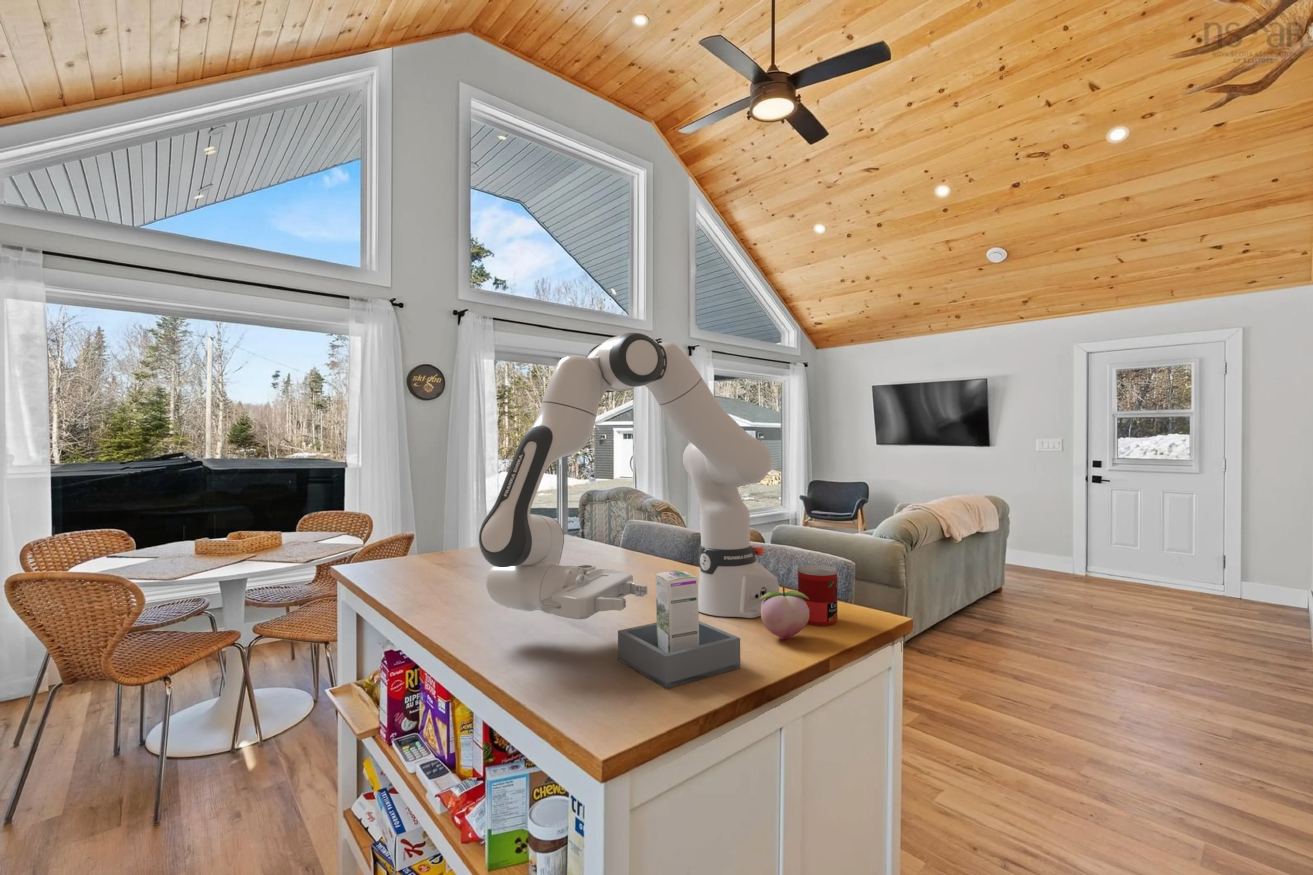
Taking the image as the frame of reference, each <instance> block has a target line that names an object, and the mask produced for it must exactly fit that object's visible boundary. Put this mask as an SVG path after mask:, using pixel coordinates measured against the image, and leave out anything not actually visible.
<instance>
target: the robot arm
mask: <svg viewBox="0 0 1313 875" xmlns="http://www.w3.org/2000/svg"><path fill="white" fill-rule="evenodd" d="M642 386H644V387H646V388H647V389H648V390H649V392H651V395H653V397H654V399H655V401H656V402H657V404H658V406H660V409H661V410H662V412H664V414H665V415H666V418H667V419H668V420H669V422H670V423H671V425H672V427H673V429H675V431H676V433H678V434H679V435H680V436H681V437H683V438H685V439H686V440H687V441H688V442H689V443H688V445H686V447H685V448H684V451H683V455H682V463H683V467H684V469H685V471H686V473H687V474H688V475H689V477H690V478H691V482H692V484H693V488H694V490H695V494H696V498H697V502H698V508H699V515H700V521H699V522H700V545H699V548H698V562H699V569H700V571H699V572H700V573H699V579H698V610H699V612H700V613H702V614H705V615H710V616H716V617H727V618H729V617H731V618H732V617H733V618H735V617H737V618H744V619H745V618H746V619H755V618H757V617H761V604H762V602H763V600H764V599H763V600H760V598H761V597H762V596H763V595H765V594H766V593H769V592H780V586H779V585H780V584H779V582H778V579H777V577H776V576H775V575H774V574H773V573H772V572H770V571H769V570H767V568H765V567H764V566H763V565H762V564H761V563H759V562H758V561H757V557H756V556H759V557H762V556H764V555H765V548H764V547H763V546H758V545H756V546H753V545H751V524H750V522H751V521H750V520H751V518H750V517H751V516H750V511H749V509H748V506H747V505H746V504H745V503H744V501H743V499H742V498H741V497H742V496H740V492H739V489H738V487H745V486H750V485H753V484H757V483H760V482H762V481H763V480H764V479H765V478H766V477H767V475H768V473H769V472H770V469H771V463H772V457H771V454H770V453H771V452H770V450H769V448H768V446H767V445H766V444H765V443H764V442H763V441H761V440H759V439H758V438H756V437H755V436H752V435H751V434H749V432H747V431H746V430H745V429H744V428H743V427H742V426H741V425H739V423H738V422H737V421H736V420H735V419H734V418H732V416H731V415H730V414H729V413H728V412H727V411H726V410H725V409H724V408H723V407H722V406H721V405H720V403H719V402H718V400H717V399H716V397H715V396H714V394H713V393H712V390H711V389H710V388H709V387H708V385H707V383H706V381H705V380H704V378H703V377H702V375H701V374H700V372H699V371H698V369H697V367H696V366H695V365H694V364H693V362H692V361H691V359H690V358H689V357H688V356H687V355H686V354H685V352H683V350H682V349H681V348H680V347H679V346H678V345H677V344H675V343H673V342H670V341H663V342H659V343H658V342H657V341H655V340H654V339H653V338H651V337H650V336H648V335H646V334H645V333H642V332H641V333H640V332H627V333H624V334H621V335H616V336H612V337H610V338H609V339H607V340H605V341H604V342H602V343H600V344H598V345H596V346H594V347H593V348H591V350H589V352H587V354H585V356H584V355H579V354H571V355H567V356H564V357H562V358H560V359H559V361H558V362H557V363H556V365H555V367H554V369H553V371H552V374H551V375H550V378H549V381H548V382H547V385H546V388H545V390H544V394H543V397H542V401H541V404H540V408H539V409H538V413H537V415H536V418H535V420H534V422H533V424H532V425H531V427H530V429H529V430H527V431H526V433H525V434H524V435H523V437H522V439H521V440H520V442H519V444H518V447H517V448H516V451H515V454H514V456H513V458H512V461H511V463H510V466H509V468H508V471H507V473H506V476H505V479H504V481H503V484H502V485H501V489H500V492H499V494H498V497H497V498H496V501H495V502H494V505H493V506H492V507H491V510H490V511H489V512H488V514H487V515H486V517H485V518H484V520H483V521H482V524H481V526H480V529H479V533H478V546H479V549H480V552H481V553H482V554H481V555H482V556H483V557H484V559H485V560H486V562H488V564H490V565H492V566H491V567H490V569H489V570H488V573H487V576H486V580H485V581H486V590H487V593H488V595H489V597H490V599H491V600H492V601H493V602H494V603H496V604H498V605H499V606H502V607H504V608H508V609H512V610H518V611H524V612H534V611H540V612H543V613H544V614H550V615H554V616H558V617H562V618H567V619H571V620H572V619H573V620H586V619H588V618H590V617H591V616H592V617H593V615H595V614H597V613H598V612H606V611H619V612H620V611H622V610H624V609H625V608H626V607H627V604H626V602H627V600H626V598H624V597H626V596H628V595H634V596H635V597H642V598H643V597H645V596H646V595H648V586H647V585H645V584H638V583H637V582H634V577H633V576H634V575H632V574H631V573H629V572H626V571H619V570H613V569H608V568H607V569H606V568H596V565H594V564H584V565H560V563H561V558H562V554H563V549H564V546H565V545H564V544H565V535H564V530H563V528H562V526H561V524H560V523H559V522H558V521H557V520H556V519H554V518H553V517H551V516H548V515H546V516H545V515H542V514H535V513H531V509H532V506H533V504H534V501H535V498H536V496H537V492H538V490H539V487H540V484H541V483H542V479H543V477H544V475H545V473H546V471H547V470H548V468H549V467H551V465H552V464H553V463H555V462H556V461H558V460H559V459H561V458H565V457H568V456H572V455H575V454H577V453H578V452H579V451H581V450H582V449H583V448H585V447H586V446H587V444H588V442H589V440H590V438H591V436H592V434H593V431H594V427H595V423H596V419H597V415H598V412H599V411H598V410H599V405H600V402H601V400H602V398H603V396H604V394H606V393H614V392H624V391H629V390H632V389H633V388H636V387H642ZM759 600H760V601H759Z"/></svg>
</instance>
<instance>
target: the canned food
mask: <svg viewBox="0 0 1313 875" xmlns="http://www.w3.org/2000/svg"><path fill="white" fill-rule="evenodd" d="M797 591H798V592H801V593H803V594H804V595H806V596H807V597H808V598H809V599H806V598H803V597H802V598H803V599H804V601H805V602H806V604H807V606H808V609H809V620H808V623H807V624H806V625H811V626H814V627H815V626H816V627H817V626H818V627H827V626H833V625H835V624H837V621H838V616H839V615H838V569H837V568H835V567H834V566H829V565H823V564H805V565H803V564H802V565H800V566H798V568H797Z"/></svg>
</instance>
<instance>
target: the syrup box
mask: <svg viewBox="0 0 1313 875" xmlns="http://www.w3.org/2000/svg"><path fill="white" fill-rule="evenodd" d="M655 573H656V574H655V598H656V599H655V603H656V605H655V606H656V623H657V648H659V649H661V650H662V651H664V652H666V653H670V652H674V651H679V650H683V649H687V648H691V647H695V646H699V621H700V616H699V610H698V587H699V577H698V576H696V575H694V574H692V573H690V572H687V571H685V570H681V569H680V570H668V571H663V572H658V573H657V572H655Z"/></svg>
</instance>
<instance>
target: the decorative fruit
mask: <svg viewBox="0 0 1313 875" xmlns="http://www.w3.org/2000/svg"><path fill="white" fill-rule="evenodd" d="M785 588H786V587H785V586H782V591H779V592H769V593H766V594H765V595H763V596H762V597H761V598H760V600H763V599H764V600H763V602H762V604H761V616H760V618H761V621H762V624H763V625H764V628H766V630H768V631H769V632H770V633H771V634H773V635H775V636H776V637H779V638H781V639H783V640H787V639H790V638H792V637H794V636H795V635H797V634H798V633H800V632H801V631H802V630H804V628H805V627H806V625H808V624H807V623H808V620H809V609H808V606H807V604H806V602H805V601H804V599H803V598H806V599H809V598H808V597H807V596H806V595H804V594H803V593H801V592H798V590H789V591H786V590H785ZM802 597H803V598H802ZM760 600H759V601H760Z"/></svg>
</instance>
